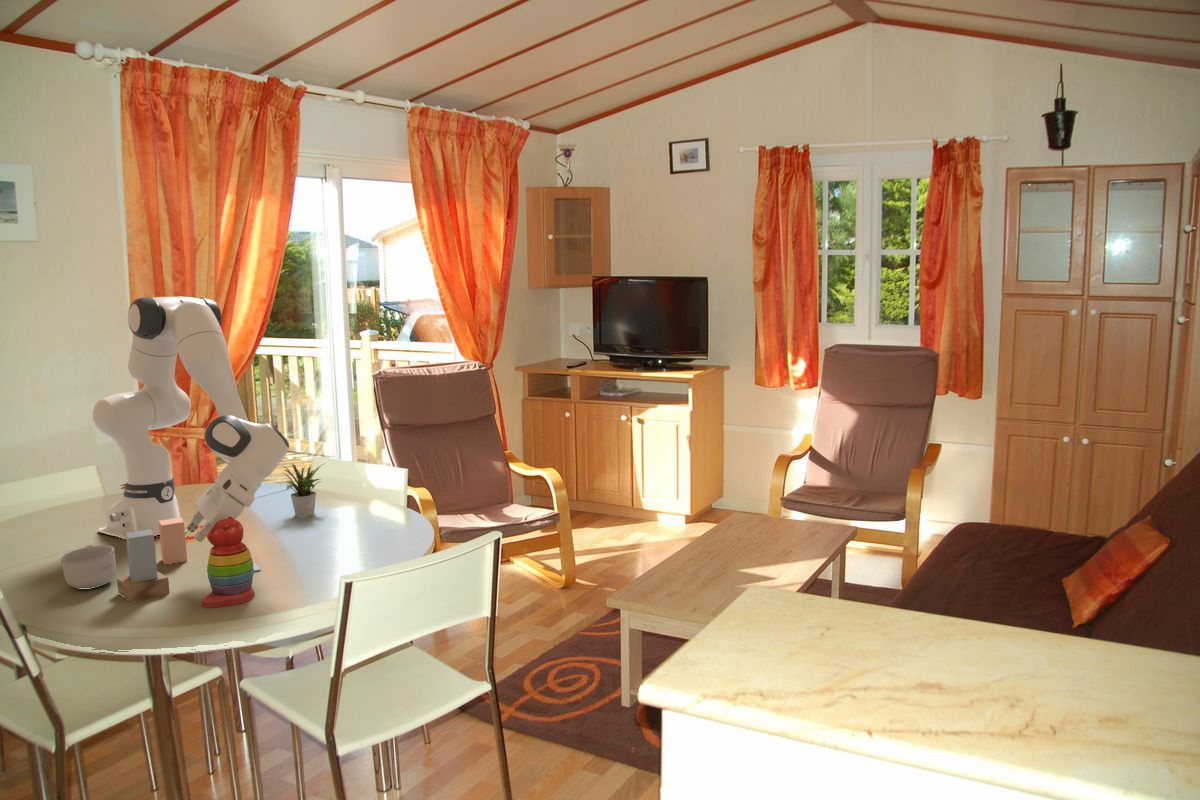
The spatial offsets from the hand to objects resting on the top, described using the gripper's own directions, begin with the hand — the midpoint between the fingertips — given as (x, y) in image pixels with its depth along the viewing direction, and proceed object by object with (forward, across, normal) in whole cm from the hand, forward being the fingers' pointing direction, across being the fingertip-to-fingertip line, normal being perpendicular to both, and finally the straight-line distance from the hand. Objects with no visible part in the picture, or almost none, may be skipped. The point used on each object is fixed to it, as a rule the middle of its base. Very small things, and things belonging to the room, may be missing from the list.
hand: (192, 535), depth 211 cm
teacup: (+22, -15, -6) cm, 27 cm away
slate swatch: (0, -3, +16) cm, 16 cm away
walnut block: (+16, 0, +1) cm, 16 cm away
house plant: (-17, -45, +33) cm, 59 cm away
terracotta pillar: (+9, -21, +7) cm, 24 cm away
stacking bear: (+5, +15, +11) cm, 19 cm away
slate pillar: (+13, 0, -2) cm, 13 cm away
